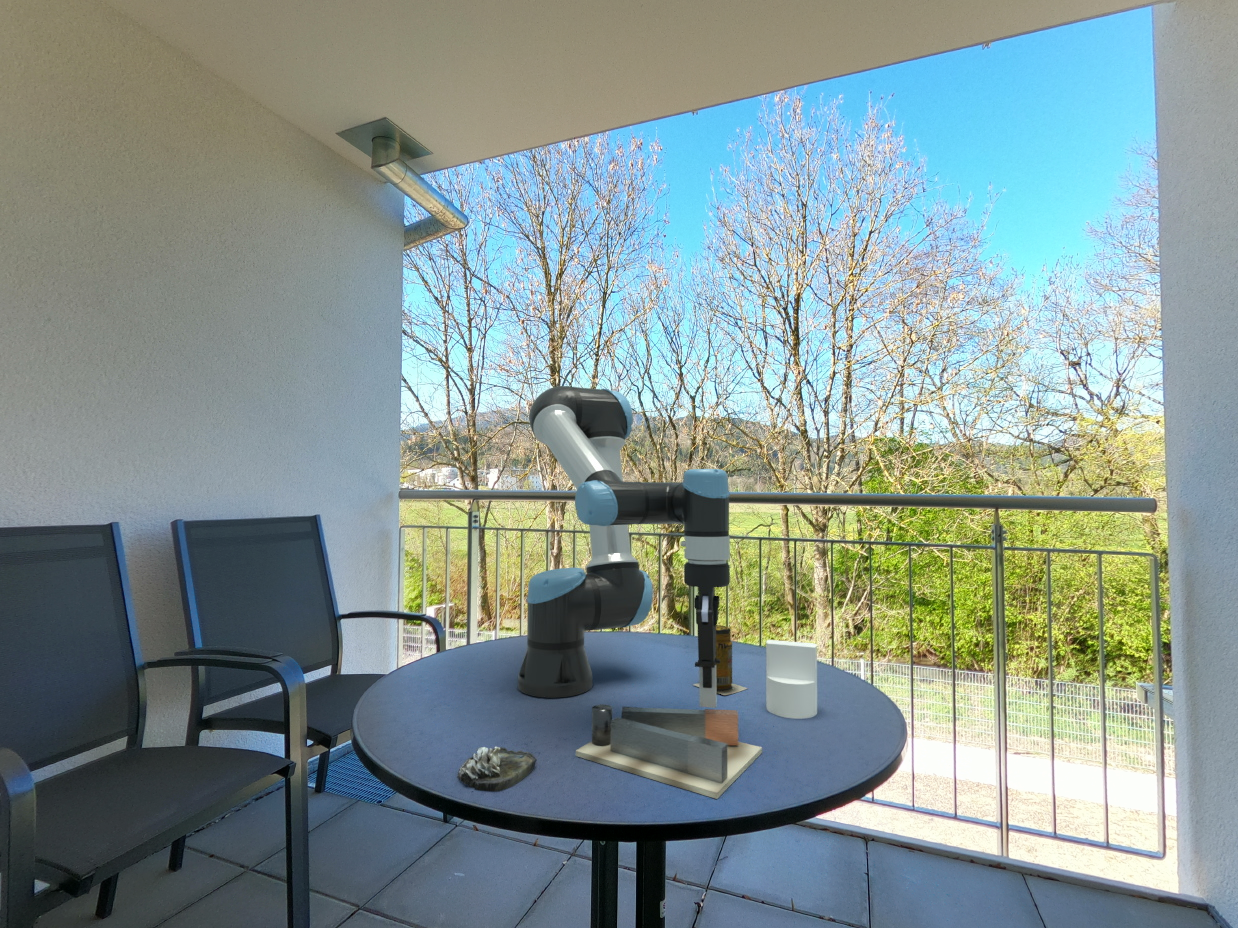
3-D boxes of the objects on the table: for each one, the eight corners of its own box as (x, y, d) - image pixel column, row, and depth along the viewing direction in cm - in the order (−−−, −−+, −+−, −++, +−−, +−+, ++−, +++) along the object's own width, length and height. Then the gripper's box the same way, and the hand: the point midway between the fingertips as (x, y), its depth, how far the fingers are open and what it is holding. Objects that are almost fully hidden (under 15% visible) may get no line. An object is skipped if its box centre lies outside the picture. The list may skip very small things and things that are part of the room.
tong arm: (621, 740, 95) (621, 710, 95) (622, 735, 97) (622, 705, 97) (738, 745, 93) (738, 714, 93) (736, 739, 95) (736, 710, 95)
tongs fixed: (585, 744, 94) (585, 710, 94) (599, 735, 97) (599, 702, 97) (721, 783, 81) (721, 743, 82) (732, 772, 85) (732, 734, 85)
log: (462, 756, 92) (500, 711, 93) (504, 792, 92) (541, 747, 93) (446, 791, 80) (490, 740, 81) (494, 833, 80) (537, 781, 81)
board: (575, 755, 91) (575, 750, 91) (634, 720, 106) (634, 716, 106) (717, 798, 79) (717, 792, 79) (762, 752, 93) (761, 747, 93)
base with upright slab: (817, 704, 114) (817, 639, 115) (816, 721, 106) (816, 651, 106) (768, 698, 117) (768, 635, 118) (763, 714, 109) (763, 647, 109)
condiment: (716, 679, 129) (716, 622, 130) (748, 689, 123) (747, 629, 123) (692, 685, 125) (692, 626, 125) (724, 696, 118) (724, 634, 119)
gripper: (687, 557, 109) (689, 691, 107) (679, 565, 96) (681, 717, 94) (730, 558, 107) (732, 694, 106) (728, 566, 94) (730, 721, 93)
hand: (708, 705), depth 100 cm, fingers closed
